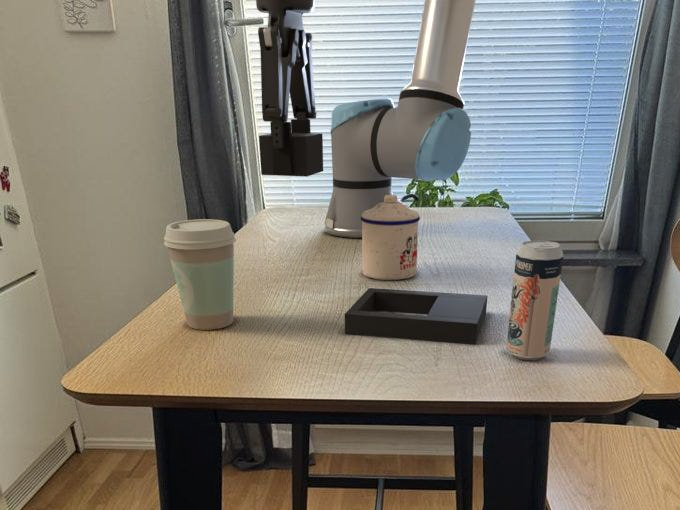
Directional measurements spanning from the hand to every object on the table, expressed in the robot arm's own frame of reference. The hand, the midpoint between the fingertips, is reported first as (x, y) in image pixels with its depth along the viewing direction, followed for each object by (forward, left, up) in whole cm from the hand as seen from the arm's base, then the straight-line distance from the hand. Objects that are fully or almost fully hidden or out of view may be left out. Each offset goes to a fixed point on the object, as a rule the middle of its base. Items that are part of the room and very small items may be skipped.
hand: (293, 171), depth 97 cm
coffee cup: (+24, -4, -16) cm, 29 cm away
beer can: (+26, +36, -16) cm, 47 cm away
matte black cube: (0, 0, 0) cm, 0 cm away
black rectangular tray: (+18, +22, -15) cm, 33 cm away
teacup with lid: (-7, +13, -16) cm, 22 cm away
